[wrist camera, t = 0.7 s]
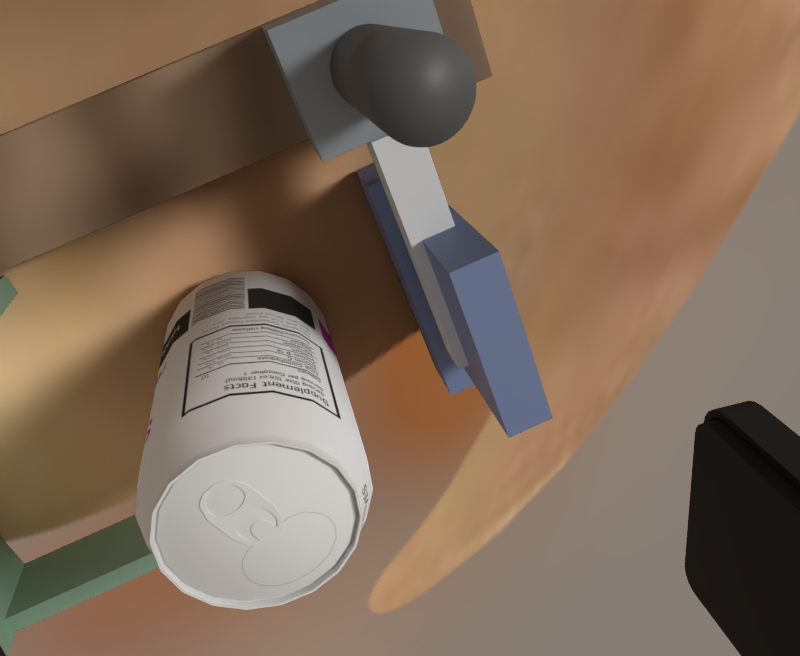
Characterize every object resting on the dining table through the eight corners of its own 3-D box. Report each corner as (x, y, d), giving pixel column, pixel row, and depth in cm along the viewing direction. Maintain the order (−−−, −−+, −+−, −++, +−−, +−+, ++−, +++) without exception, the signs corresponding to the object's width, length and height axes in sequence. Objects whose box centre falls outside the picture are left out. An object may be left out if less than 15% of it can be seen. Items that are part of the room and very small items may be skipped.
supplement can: (357, 340, 38) (426, 520, 25) (244, 434, 39) (252, 656, 26) (253, 232, 34) (268, 376, 21) (131, 338, 35) (72, 540, 22)
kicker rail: (426, -45, 31) (455, -52, 27) (460, 67, 33) (492, 75, 29) (-216, 226, 30) (-284, 260, 26) (-134, 322, 32) (-185, 367, 28)
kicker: (386, -28, 31) (498, -51, 18) (507, 335, 40) (640, 492, 27) (260, 25, 30) (282, 41, 18) (411, 378, 39) (498, 557, 27)
